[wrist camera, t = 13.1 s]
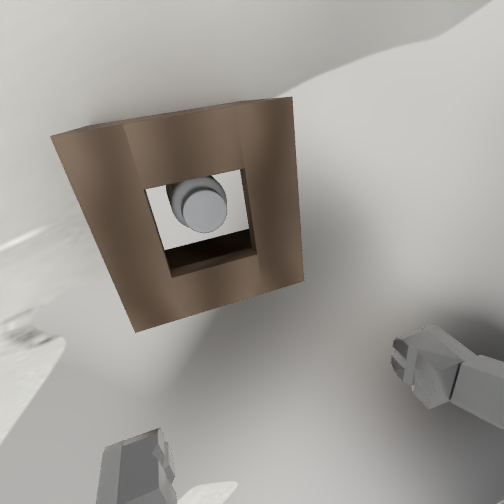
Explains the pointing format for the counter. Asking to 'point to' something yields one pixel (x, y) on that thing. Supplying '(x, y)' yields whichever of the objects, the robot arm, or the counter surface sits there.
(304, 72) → the counter surface
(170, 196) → the supplement bottle
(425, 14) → the counter surface
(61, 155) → the box
